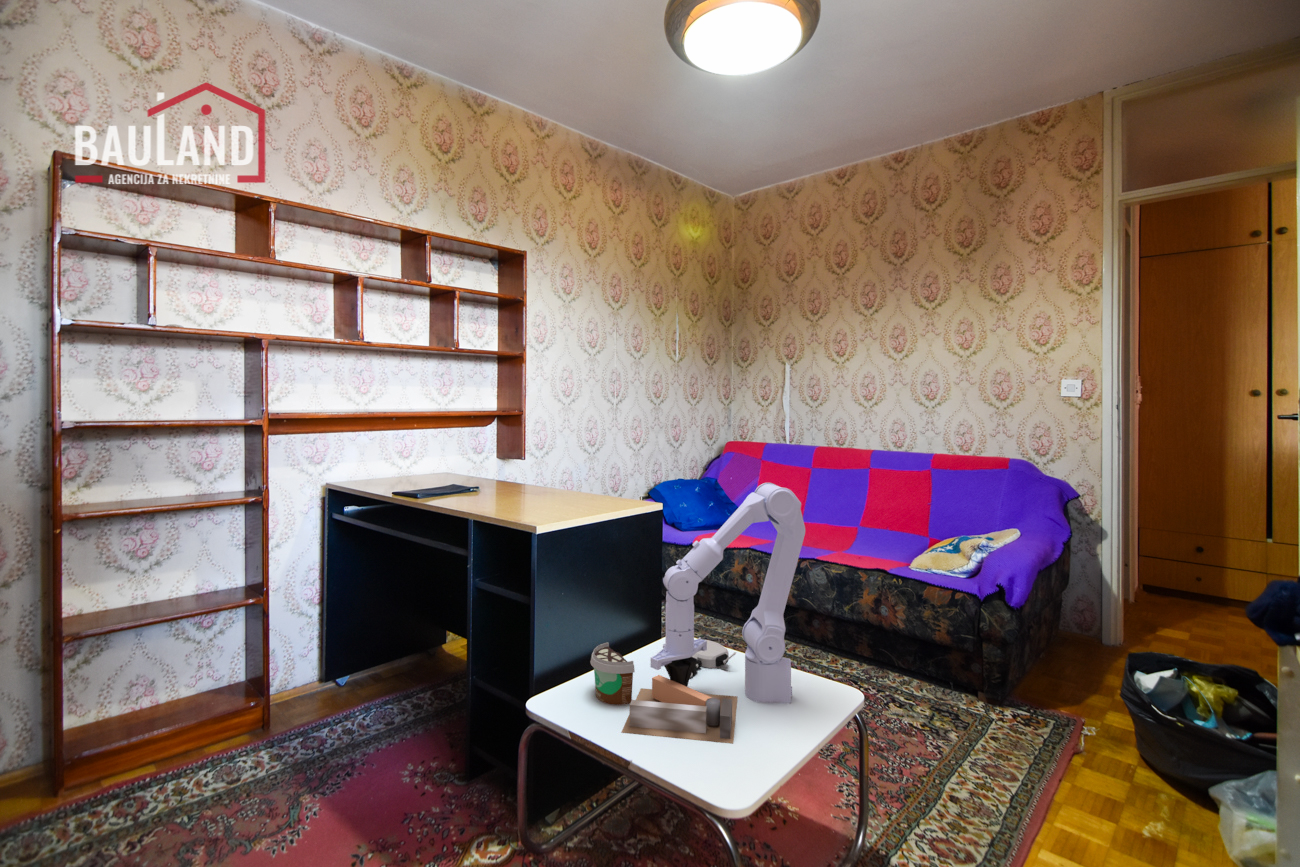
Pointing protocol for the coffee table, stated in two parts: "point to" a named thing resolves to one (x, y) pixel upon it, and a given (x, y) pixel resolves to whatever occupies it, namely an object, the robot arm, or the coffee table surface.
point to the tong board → (684, 735)
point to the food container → (612, 676)
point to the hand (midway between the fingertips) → (679, 694)
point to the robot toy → (711, 656)
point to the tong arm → (685, 697)
